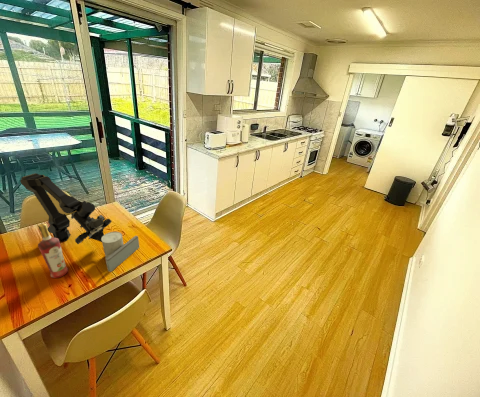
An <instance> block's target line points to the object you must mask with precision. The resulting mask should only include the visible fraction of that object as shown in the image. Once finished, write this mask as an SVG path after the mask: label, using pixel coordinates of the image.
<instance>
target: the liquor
mask: <svg viewBox="0 0 480 397" xmlns="http://www.w3.org/2000/svg"><path fill="white" fill-rule="evenodd" d="M47 225H48V224H46V223H41V224H39V225H38V230H39V232H40V233H41V236H42V239H41V241H39V242H38V244H37V248H38V249H39V252H40V253H41V256H42V257H43V259H44V261H45V264H46V265H47V268H48V271H49V272H50V275H49V276H50V277H51V278H56V279H57V278H63V276H65V275H66V274H67V273H68V272H69V268H68V267H67V265H66V264H67V263H66V262H65V258H64V254H63V250H62V249H63V248H62V245H61V243H60V242H61V241H59V239H58V238H54V236H51V233H50V232H49V231H48V226H47Z"/></svg>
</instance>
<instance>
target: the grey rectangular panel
mask: <svg viewBox="0 0 480 397" xmlns="http://www.w3.org/2000/svg"><path fill="white" fill-rule="evenodd" d="M123 244H124V245H123V246H122V247H120V248H119V249H118V250H116V251H115V252H114V253H113V254H111V255H110V256H109V257H107V258H105V259H104V260H105V264H106V268H107V272H110V273H112V272H113V271H114V270H115V269H116V268H117V267H119V265H121V264H122V263H123V262H125V261H126V260H127V258H129V257H130V256H131V255H133V254H134V253H135V252H136V251H137V250H138V249H139V248H140V240H139V236H138V235H134V236H133V237H132V238H131V239H129V240H128V241H127V242H126V243H123Z"/></svg>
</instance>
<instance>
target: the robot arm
mask: <svg viewBox="0 0 480 397" xmlns="http://www.w3.org/2000/svg"><path fill="white" fill-rule="evenodd" d="M20 183H21V185H22V186H23V187H24V188H25V189H26V190H27V191H30V192H31V193H33V195H34V196H35V198H36V199H37V200H38V202H39V203H40V204H39V205H41V207H42V208H43V210H44V212H46V214H47V216H48V219H47V222H48V224H49V226H47V228H48V232H49V234H52V237H54V238H58V239H59V242H66V241H68V240H69V238H70V237H71V235H72V234H71V233H70V230H69V229H68V228H70V225H71V220H70V219H74V220H75V222H77V223H78V224H79V225H80V226H79V228H80V229H82V228H83V230H84V232H82V233H80V234H79V235H78V236H77V237H76V238H75V239H74V241H75V243H76V244H77V245H79V244H81V243H82V242H84V240H85V239H86V238H88V240H95V241H98V242H100V243H102V241H101V238H102V236H104V235H105V234H104V230H105V228H106V227H108V226H109V225H110V224H111V223H112V220H111V219H110V218H106V219H105V217H104V216H103V215H102V214H100V215H97V216H96V218H94V217H91V215H92V214H93V212H95V210H96V206H95V204H94V203H91V202H87V201H86V200H83V201H80V200H78V199H77V198H75V197H74V196H72V195H68V194H67V193H65V192H64V190H62V189H61V188H60V187H59V186H58V185H57V184H55V183H54V182H53V180H52V179H51V178H50V176H47V175H46V176H45V175H44V174H38V173H31V174H28V175H25V176H22V177H21V178H20ZM50 196H51V197H52V198H53V199H54V200H56V201H57V203H58V205H59V206H58V207H59V208H60V209H61V210H62V211H63V212H64V214H63V213H62V212H60V211H59V210H58V208H57V207H56V205H55V203H54V202H53V200H52V199H51V197H50ZM66 214H71V216H70V219H69V218H68V216H67V215H66Z"/></svg>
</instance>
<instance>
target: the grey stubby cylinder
mask: <svg viewBox="0 0 480 397" xmlns="http://www.w3.org/2000/svg"><path fill="white" fill-rule="evenodd" d="M101 241H102V242H101V243H102V247H103V253H104V255H105V259H106V258H107V257H109V256H110V255H111V254H113V253H114V252H115V251H116V250H118V249H119V248H120V247H122V246H123V245H124V244H125V243H124V240H123V234H122V233H121V232H119V231H110V232H107V233H105V234H104V236H102V238H101Z"/></svg>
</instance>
